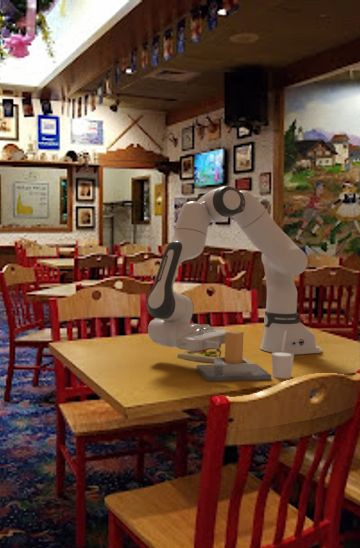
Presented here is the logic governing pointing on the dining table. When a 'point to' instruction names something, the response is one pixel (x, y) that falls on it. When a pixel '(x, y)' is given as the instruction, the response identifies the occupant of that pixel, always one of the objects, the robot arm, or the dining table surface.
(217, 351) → the pizza slice
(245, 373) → the square socket plate
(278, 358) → the white tapered cup
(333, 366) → the dining table surface
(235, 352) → the orange rectangular block
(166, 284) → the robot arm
